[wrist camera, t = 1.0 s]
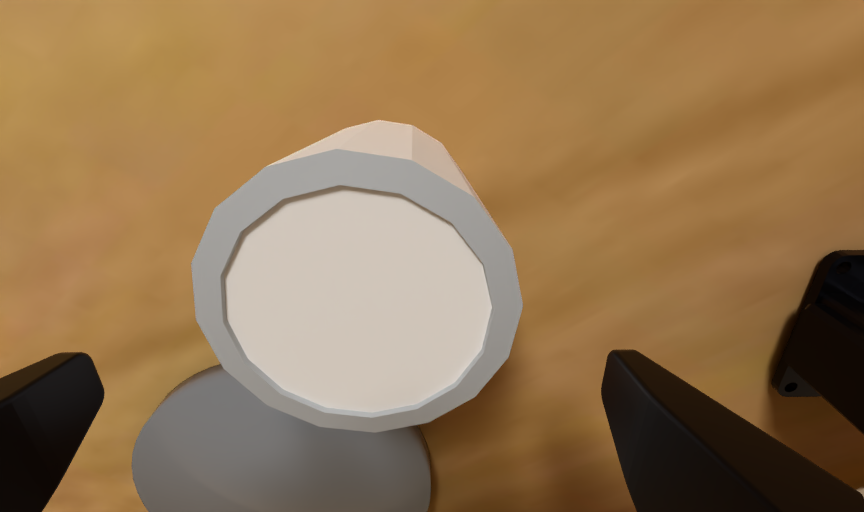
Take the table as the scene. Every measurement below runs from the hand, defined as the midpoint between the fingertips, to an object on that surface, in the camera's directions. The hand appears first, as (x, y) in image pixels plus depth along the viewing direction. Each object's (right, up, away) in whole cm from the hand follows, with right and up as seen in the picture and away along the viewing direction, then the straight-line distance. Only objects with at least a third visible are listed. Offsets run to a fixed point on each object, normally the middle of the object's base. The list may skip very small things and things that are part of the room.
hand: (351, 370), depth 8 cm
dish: (-5, -8, +13) cm, 16 cm away
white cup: (0, +4, +8) cm, 9 cm away
